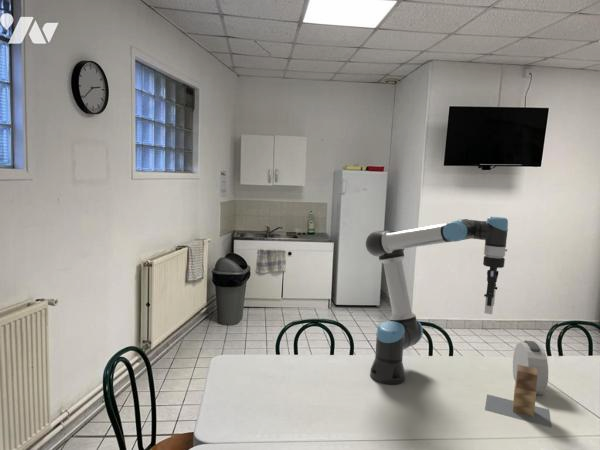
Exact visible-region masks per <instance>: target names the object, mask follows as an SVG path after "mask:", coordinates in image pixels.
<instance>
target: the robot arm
mask: <svg viewBox="0 0 600 450" xmlns="http://www.w3.org/2000/svg"><path fill="white" fill-rule="evenodd" d="M508 227H509V220H508V218H506V217H501V216H489V217H487V218H486V220H478V219H477V220H476V219H474V220H473V219H468V218H459V219H457V220H453V221H450V222H445V223H440V224H439V223H438V224H433V225H427V226H423V227H416V228H411V229H405V230H400V231H399V230H396V229H387V230H385V229H384V230H376V231H373V232H371V233H370V234H369V235H368V236H367V237H366V240H365V248H366V250H367V252H368V253H369V254H370V255H372V256H373V257H378V260H379V262H381V263H382V264H383V270H384V274H385V280H386V285H387V290H388V296H389V302H390V307H391V311H392V314H391V316H390V318H389V319H390V320H389V321H383V322H381V323H380V324H378V325H377V329H376V339H375V340H376V341H375V357H374V360H373V363H372V365H371V367H370V372H369V375H370V377H371V379H372V380H374V381H375V382H378V383H381V384H385V385H400V384H402V383H404V382H405V381H406V371H405V367H404V363H403V356H404V355H403V354H404V350H406V349H408V348H410V347H412V346H414V345H416V344H418V343H419V342H420V341H421V340H422V337H423V334H424V329H423V325H422V324H421V322H419V320H418V319H417V317H416V314H415V313H414V312H412V307H411V302H410V297H409V291H408V287H407V283H406V282H407V281H406V277H405V271H404V266H403V259H404V258H405V253H404V251H405V249H412V248H418V247H424V246H431V245H438V244H444V243H451V242H455V243H456V242H460V241H465V240H470V239H471V240H473V239H474V240H481V241H485V242H484V249H483V250H484V251H483V255H484V256H483V260H482V261H483V263H482V265H483V267H489V269H487V270H486V271H487V272H486V275H487V277H486V282H487V286H486V293H485V294H484V295H483V298H485V303H484V314H488V315H493V309H494V306H495V300H496V299H495V298H496V290H498V286H497V282H498V277H499V270H498V269H501V268H502V269H503V268H504V267H505V260H506V259H505V256H506V252H508V249H507V239H508V231H509V228H508Z"/></svg>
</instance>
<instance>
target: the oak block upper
mask: <svg viewBox="0 0 600 450" xmlns="http://www.w3.org/2000/svg"><path fill="white" fill-rule="evenodd" d="M514 381H515V380H514ZM513 392H514V393H513V400H514V399H515V400H519V401H524V402H528V403H532V404H535V405H536V398H537V394H536V392H533V391H529V390H525V389H520V388H516V381H515V383H514V390H513Z"/></svg>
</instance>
